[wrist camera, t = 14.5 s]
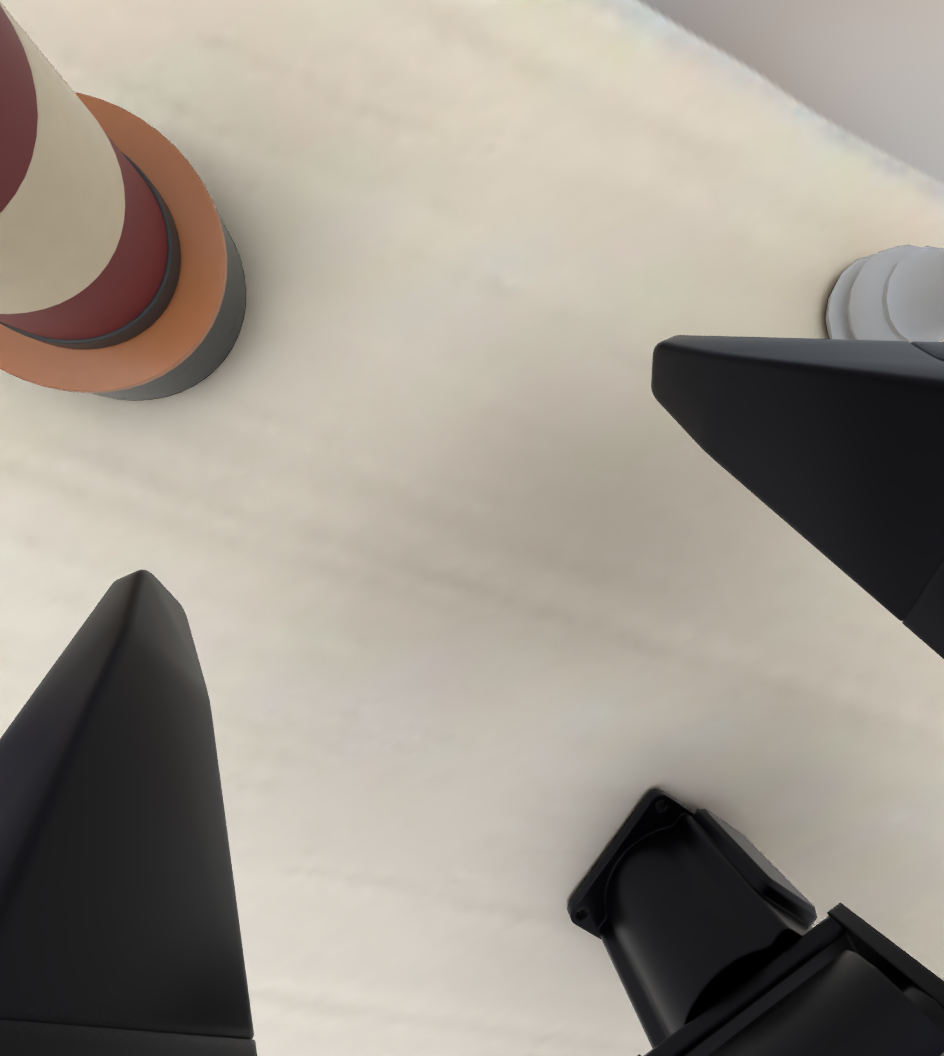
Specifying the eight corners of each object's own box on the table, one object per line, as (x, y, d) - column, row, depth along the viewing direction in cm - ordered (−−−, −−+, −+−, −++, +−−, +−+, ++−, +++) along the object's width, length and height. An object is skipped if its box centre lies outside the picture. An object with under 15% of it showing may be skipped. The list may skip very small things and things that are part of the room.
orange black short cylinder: (161, 452, 18) (116, 448, 15) (-64, 299, 16) (-163, 261, 13) (298, 270, 18) (281, 230, 15) (87, 101, 16) (21, 20, 13)
